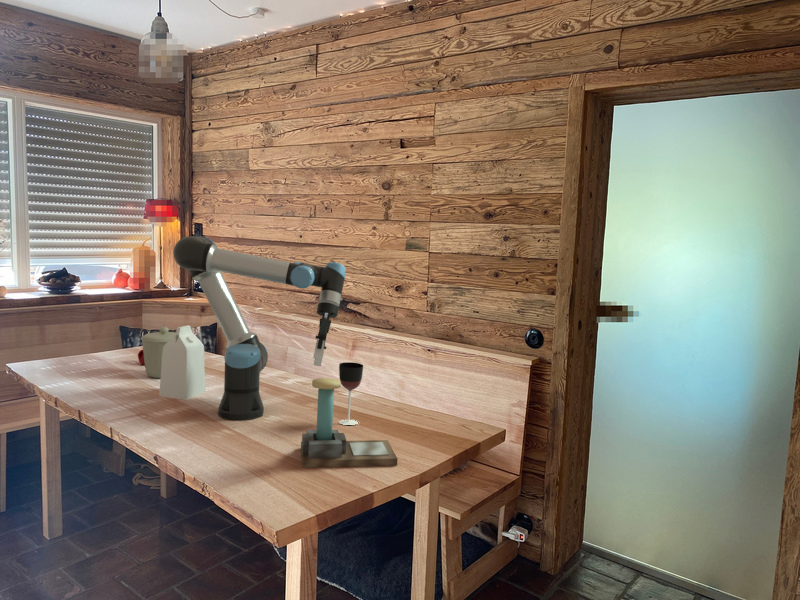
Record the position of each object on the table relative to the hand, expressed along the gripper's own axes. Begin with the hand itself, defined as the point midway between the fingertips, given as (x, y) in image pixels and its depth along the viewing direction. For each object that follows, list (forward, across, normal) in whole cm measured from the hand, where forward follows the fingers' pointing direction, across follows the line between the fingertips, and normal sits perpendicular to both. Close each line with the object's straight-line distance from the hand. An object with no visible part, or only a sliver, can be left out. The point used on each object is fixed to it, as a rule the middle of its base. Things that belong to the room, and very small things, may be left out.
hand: (317, 362), depth 203 cm
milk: (+16, +29, +48) cm, 59 cm away
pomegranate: (+2, +76, +77) cm, 108 cm away
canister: (+8, +55, +64) cm, 85 cm away
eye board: (+30, -29, -15) cm, 45 cm away
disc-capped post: (+30, -31, -8) cm, 43 cm away
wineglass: (+19, 0, -14) cm, 24 cm away
